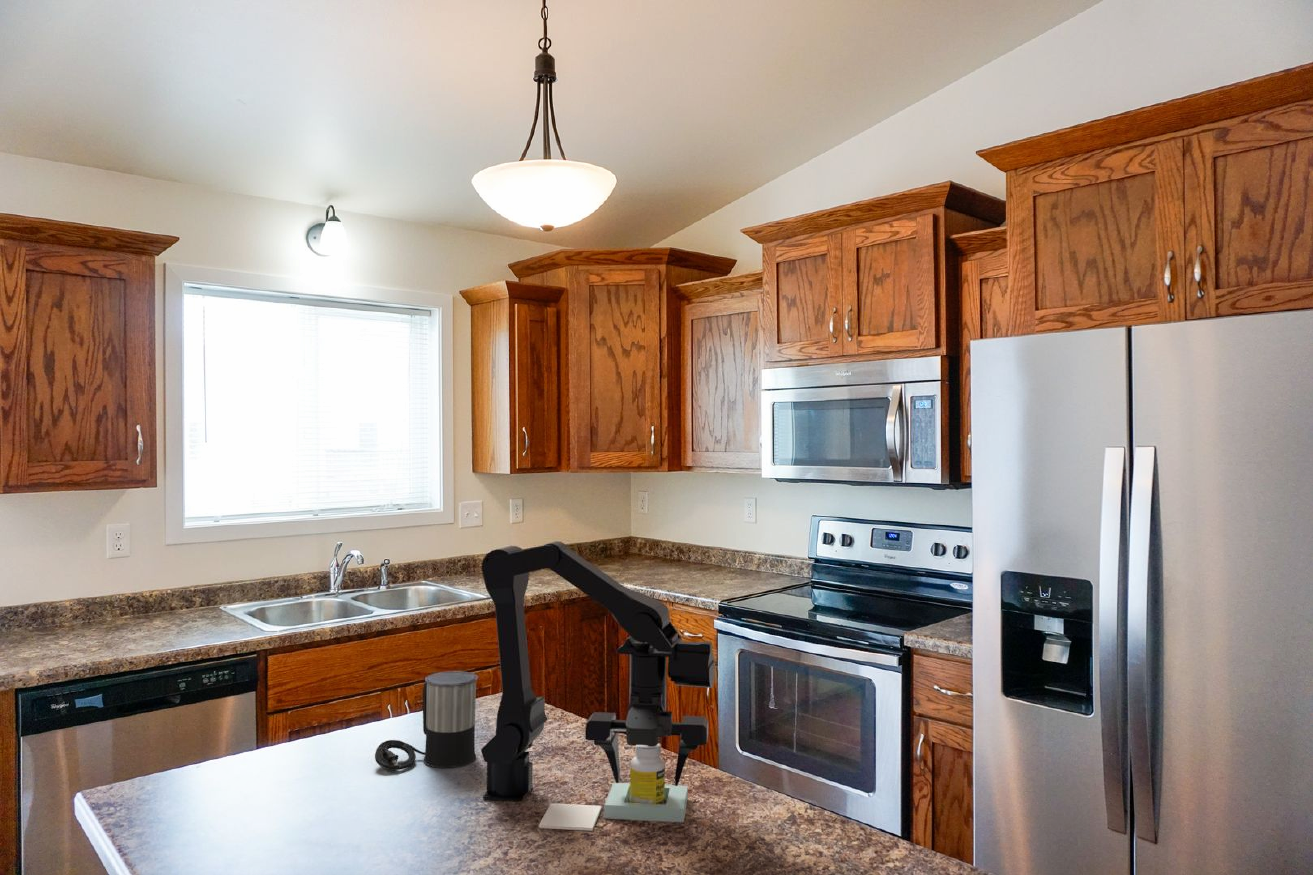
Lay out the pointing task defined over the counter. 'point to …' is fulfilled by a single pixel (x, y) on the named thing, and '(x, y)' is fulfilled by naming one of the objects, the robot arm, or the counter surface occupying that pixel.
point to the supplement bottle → (647, 775)
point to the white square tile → (570, 817)
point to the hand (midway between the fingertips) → (647, 783)
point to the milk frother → (441, 724)
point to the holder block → (646, 805)
